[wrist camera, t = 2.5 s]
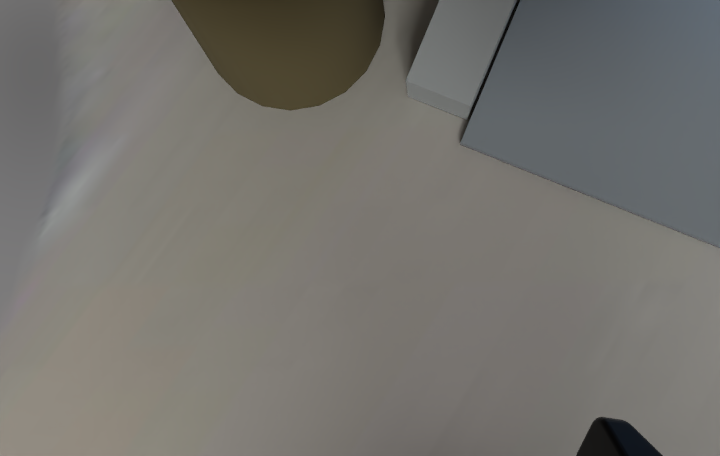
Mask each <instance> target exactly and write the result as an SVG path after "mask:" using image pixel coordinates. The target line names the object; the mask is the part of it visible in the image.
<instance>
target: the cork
mask: <svg viewBox="0 0 720 456" xmlns="http://www.w3.org/2000/svg"><path fill="white" fill-rule="evenodd" d="M172 2H173V3H174V5H175V7H176V8H177V10H178V11H179V13H180V14H181V16H182V18H183V19H184V21H185V22H186V24H187V25H188V27H189V28H190V30H191V32H192V33H193V35H194V36H195V38H196V39H197V41H198V43H199V44H200V46H201V47H202V49H203V50H204V52H205V54H206V55H207V57H208V58H209V60H210V61H211V63H212V65H213V66H214V68H215V69H216V71H217V72H218V74H219V75H220V76H221V77H222V78H223V79H224V80H225V81H226V82H227V83H228V84H229V85H230V86H231V87H232V88H233V89H234V90H235V91H236V92H237V93H238V94H240V95H242V96H244V97H246V98H248V99H250V100H252V101H254V102H256V103H257V104H259V105H261V106H265V107H272V108H279V109H285V110H296V109H302V108H308V107H314V106H319V105H321V104H323V103H325V102H327V101H329V100H331V99H333V98H335V97H337V96H339V95H341V94H342V93H344V92H346V91H347V90H348V89H349V88H350V87H351V86H352V85H353V84H354V83H355V82H356V81H357V80H358V79H359V78H360V77H361V76H362V75H363V74H364V73H365V72H366V71H367V69H368V67H369V65H370V63H371V61H372V59H373V57H374V55H375V53H376V51H377V50H378V48H379V46H380V42H381V36H382V30H383V24H384V18H385V13H384V6H383V0H172Z"/></svg>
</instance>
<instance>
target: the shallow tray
mask: <svg viewBox="0 0 720 456" xmlns="http://www.w3.org/2000/svg"><path fill="white" fill-rule="evenodd" d="M516 2H517V0H439V2H438V5H437V7H436V10H435V12H434V14H433V17H432V19H431V22H430V24H429V26H428V29H427V31H426V33H425V36H424V38H423V41H422V43H421V45H420V48H419V50H418V53H417V55H416V57H415V60H414V62H413V65H412V67H411V69H410V72H409V74H408V76H407V79H406V87H407V93H408V97H410V98H413V99H416V100H418V101H421V102H423V103H426V104H428V105H431V106H433V107H436V108H438V109H441V110H443V111H446V112H449V113H451V114H454V115H456V116H459V117H461V118H464V119H466V120H467V118H468V116H469V114H470V111H471V109H472V106H473V104H474V102H475V99H476V97H477V94H478V92H479V90H480V87H481V85H482V83H483V80H484V78H485V75H486V73H487V71H488V68H489V66H490V64H491V61H492V59H493V56H494V54H495V52H496V49H497V47H498V45H499V42H500V40H501V37H502V35H503V33H504V30H505V28H506V26H507V23H508V21H509V18H510V16H511V14H512V11H513V9H514V7H515V4H516ZM460 145H463V146H465V147H468V148H470V149H473V150H475V151H478V152H480V153H483V154H485V155H488V156H490V157H493V158H495V159H498V160H500V161H503V162H505V163H508V164H510V165H513V166H515V167H518V168H520V169H523V170H525V171H528V172H530V173H533V174H535V175H538V176H540V177H543V178H545V179H548V180H550V181H553V182H555V183H558V184H560V185H563V186H565V187H568V188H570V189H573V190H575V191H578V192H580V193H583V194H586V195H588V196H591V197H593V198H596V199H598V200H601V201H603V202H606V203H608V204H611V205H613V206H616V207H618V208H621V209H623V210H626V211H628V212H631V213H633V214H636V215H638V216H641V217H643V218H646V219H648V220H651V221H653V222H656V223H658V224H661V225H663V226H666V227H668V228H671V229H673V230H676V231H678V232H681V233H683V234H686V235H688V236H691V237H693V238H696V239H698V240H701V241H703V242H706V243H708V244H711V245H713V246H716V247H718V248H720V0H520V2H519V5H518V7H517V9H516V12H515V14H514V17H513V19H512V21H511V24H510V26H509V28H508V31H507V33H506V36H505V38H504V40H503V43H502V45H501V47H500V50H499V52H498V55H497V57H496V59H495V62H494V64H493V67H492V69H491V71H490V74H489V76H488V78H487V81H486V83H485V86H484V88H483V90H482V93H481V95H480V97H479V100H478V102H477V105H476V107H475V109H474V112H473V114H472V116H471V119H470V121H469V124H468V126H467V128H466V131H465V133H464V135H463V138H462V140H461V143H460Z"/></svg>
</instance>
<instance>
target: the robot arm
mask: <svg viewBox="0 0 720 456" xmlns="http://www.w3.org/2000/svg"><path fill="white" fill-rule="evenodd" d="M576 456H663V455H662V454H661V453H660V452H658V451H657V450H656V449H655V448H654V447H653V446H652V445H651V444H650V443H649V442H648V441H647V440H646V439H645V438H644V437H643V436H642V435H641V434H640V433H639V432H638V431H637V430H636V429H635V428H634V427H633V426H632V425H630V424H629V423H628V422H626V421H624V420H619V419H612V418H605V417H599V418H597V419H596V420H594V422H593V423H592V425H591V427H590V429H589V431H588V433H587V435H586V437H585V439H584V441H583V443H582V445H581V447H580V448H579V450H578V452H577V455H576Z"/></svg>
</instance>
